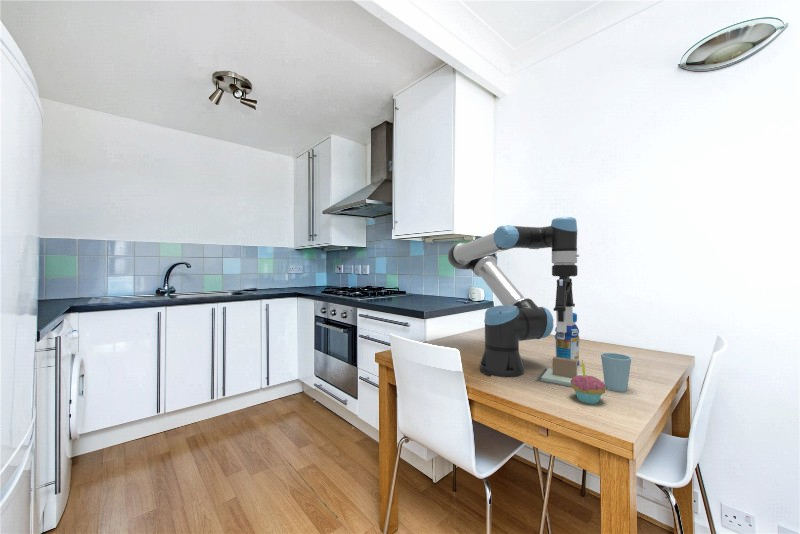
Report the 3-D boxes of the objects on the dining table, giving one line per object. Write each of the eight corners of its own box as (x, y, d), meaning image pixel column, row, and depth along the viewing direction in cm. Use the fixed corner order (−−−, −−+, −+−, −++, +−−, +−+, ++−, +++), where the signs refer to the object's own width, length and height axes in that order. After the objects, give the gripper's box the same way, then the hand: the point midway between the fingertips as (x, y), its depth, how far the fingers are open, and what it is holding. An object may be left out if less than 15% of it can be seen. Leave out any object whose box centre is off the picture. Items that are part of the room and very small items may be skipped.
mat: (535, 382, 104) (535, 380, 104) (545, 370, 116) (545, 368, 116) (588, 393, 95) (588, 391, 95) (593, 378, 107) (593, 376, 107)
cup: (637, 392, 95) (637, 357, 95) (621, 396, 92) (620, 360, 92) (611, 384, 102) (611, 351, 102) (595, 387, 99) (595, 354, 99)
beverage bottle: (552, 361, 127) (552, 311, 127) (575, 362, 125) (575, 311, 125) (558, 367, 119) (558, 314, 119) (583, 369, 117) (583, 314, 117)
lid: (541, 380, 104) (541, 360, 104) (548, 370, 114) (548, 352, 114) (583, 388, 97) (583, 367, 97) (587, 377, 107) (587, 357, 107)
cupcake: (591, 410, 83) (591, 364, 83) (563, 398, 91) (563, 356, 91) (612, 404, 87) (612, 360, 87) (583, 393, 94) (583, 353, 95)
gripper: (571, 263, 93) (572, 336, 93) (581, 264, 113) (582, 324, 113) (544, 264, 97) (544, 333, 97) (558, 264, 118) (559, 322, 118)
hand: (565, 328), depth 105 cm, fingers open, 13 cm apart
